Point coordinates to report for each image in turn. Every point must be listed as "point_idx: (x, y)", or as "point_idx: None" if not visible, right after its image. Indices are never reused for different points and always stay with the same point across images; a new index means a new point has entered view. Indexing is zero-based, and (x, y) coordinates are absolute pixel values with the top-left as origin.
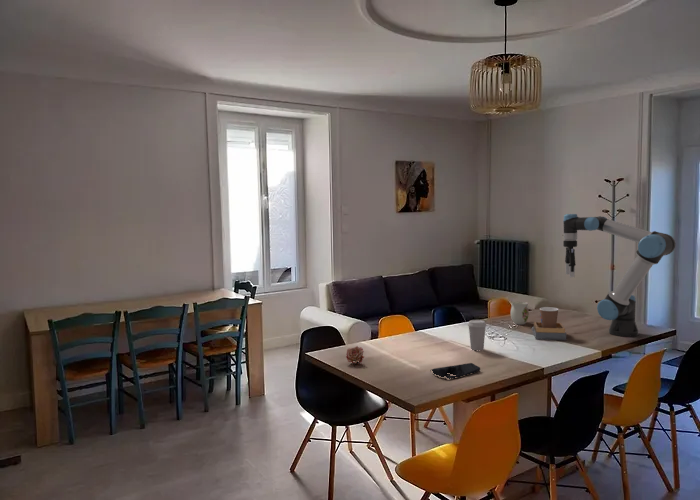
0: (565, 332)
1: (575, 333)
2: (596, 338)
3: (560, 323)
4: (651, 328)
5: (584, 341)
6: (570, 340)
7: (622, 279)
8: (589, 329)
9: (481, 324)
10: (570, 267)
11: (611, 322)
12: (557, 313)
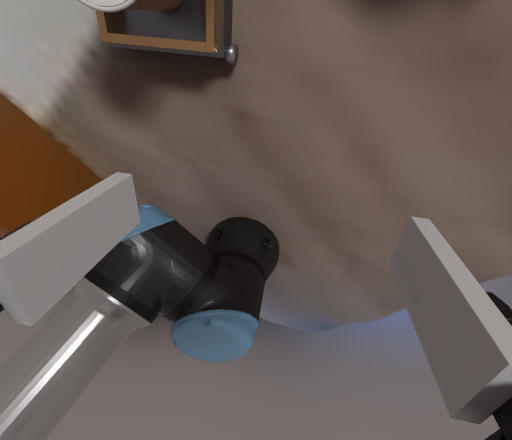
0: (122, 46)
1: (238, 116)
2: (178, 161)
3: (199, 46)
4: (303, 319)
5: (131, 111)
6: (131, 65)
7: (5, 380)
8: (299, 182)
9: None
10: (2, 251)
11: (244, 241)
12: (101, 2)
